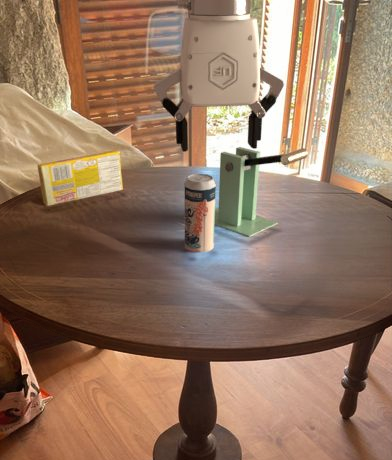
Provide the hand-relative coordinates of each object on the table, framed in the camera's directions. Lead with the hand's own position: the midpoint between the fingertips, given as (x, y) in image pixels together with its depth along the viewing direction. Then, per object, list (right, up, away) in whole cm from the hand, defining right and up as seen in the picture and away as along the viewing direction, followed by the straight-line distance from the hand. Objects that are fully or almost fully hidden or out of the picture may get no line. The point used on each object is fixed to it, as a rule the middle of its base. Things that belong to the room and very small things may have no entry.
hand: (218, 147), depth 80 cm
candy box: (-25, 0, +30) cm, 39 cm away
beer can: (-3, -13, +12) cm, 18 cm away
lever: (+8, +1, +11) cm, 14 cm away
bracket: (+4, -6, +21) cm, 22 cm away
